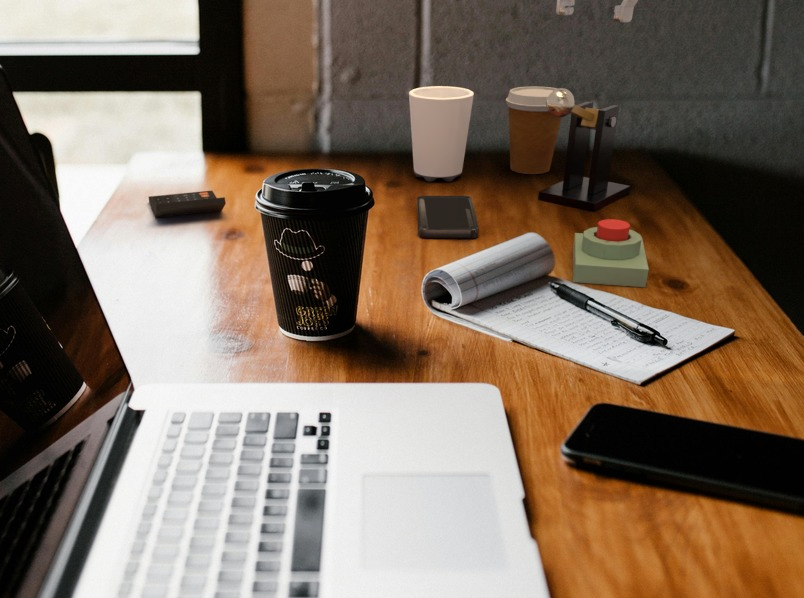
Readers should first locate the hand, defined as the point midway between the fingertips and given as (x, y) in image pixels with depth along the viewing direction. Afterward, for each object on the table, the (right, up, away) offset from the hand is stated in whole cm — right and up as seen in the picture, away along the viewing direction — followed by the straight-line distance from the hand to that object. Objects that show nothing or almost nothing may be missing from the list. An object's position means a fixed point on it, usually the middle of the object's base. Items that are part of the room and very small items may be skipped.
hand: (592, 18), depth 109 cm
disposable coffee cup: (-2, -10, +31) cm, 33 cm away
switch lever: (0, -11, +8) cm, 13 cm away
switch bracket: (+4, -18, +18) cm, 26 cm away
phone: (-18, -24, +9) cm, 31 cm away
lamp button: (0, -30, -8) cm, 31 cm away
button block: (0, -33, -7) cm, 34 cm away
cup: (-17, -12, +28) cm, 35 cm away
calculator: (-54, -21, +14) cm, 60 cm away
